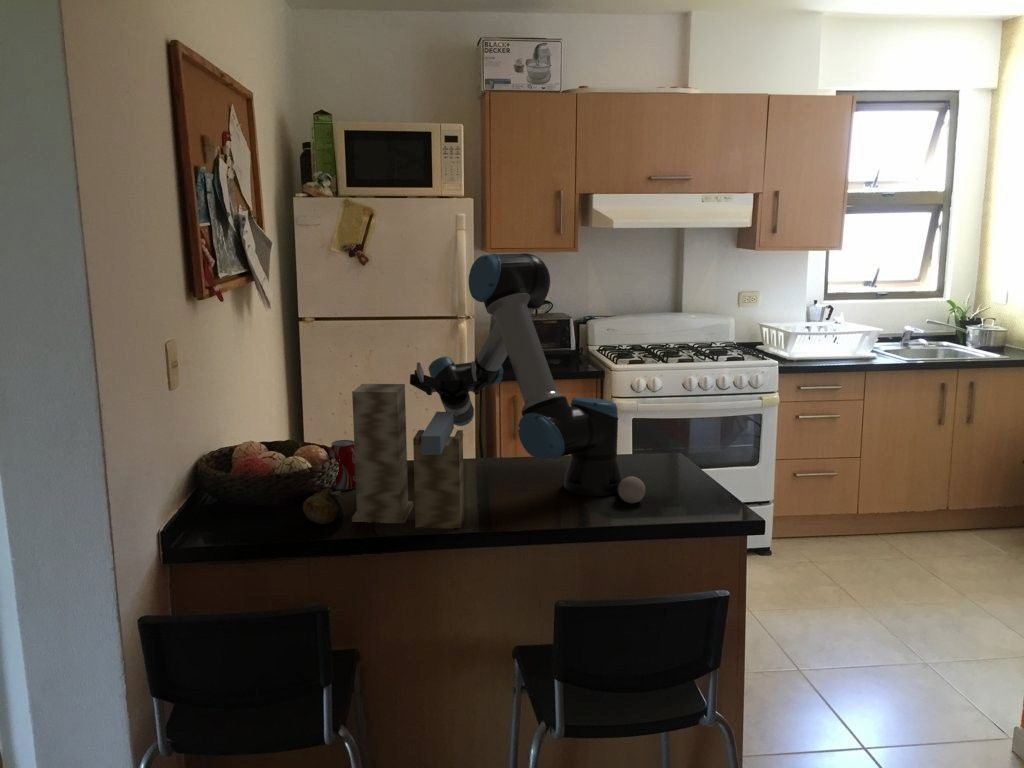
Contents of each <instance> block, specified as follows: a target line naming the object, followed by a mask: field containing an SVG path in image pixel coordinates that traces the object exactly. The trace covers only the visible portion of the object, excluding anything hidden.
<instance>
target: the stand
mask: <svg viewBox="0 0 1024 768" xmlns="http://www.w3.org/2000/svg"><path fill="white" fill-rule="evenodd" d="M351 394H352V421H353V441H354V449H355V474H356V487H355V494H356V495H355V497H356V511H355V513H354V514H353V515H352V517H351V523H352V522H366V523H365V524H370V523H371V524H405V523H406V521H407V519H408V517H409V515H410V513H411V512H412V509H413V507H414V501H413V500H412V501H411V500H410V501H409V487H408V486H409V485H408V482H409V481H408V456H407V455H408V450H407V444H408V443H407V414H406V384H405V383H361V384H360V385H359V386H357V387H356V388H355V389H354V390H352V392H351ZM367 522H368V523H367ZM372 522H374V523H372ZM375 522H376V523H375ZM378 522H379V523H378Z"/></svg>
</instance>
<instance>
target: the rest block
mask: <svg viewBox="0 0 1024 768" xmlns="http://www.w3.org/2000/svg"><path fill="white" fill-rule="evenodd" d="M424 431H425V430H424V429H418V431H417V432H416V434H414V437H413V439H412V441H413V442H412V443H413V446H412V447H413V474H414V475H413V477H414V478H413V479H414V480H413V482H414V485H413V486H414V487H413V488H414V510H415V511H414V519H415V523H414V524H415V528H416V527H444V528H443V529H454V528H460V527H462V525H463V522H462V521H464V518H465V496H464V495H465V494H464V493H465V489H464V488H465V487H464V486H465V485H464V482H465V481H464V430H463V429H457V431H456V432H455V434H454V435H453V436H450V437H449V439H448V441H447V443H446V445H445V447H444V449H443V451H442V453H441V455H422V447H421V436H422V434H423V433H424ZM461 524H462V525H461ZM446 527H448V528H446ZM460 529H461V528H460Z"/></svg>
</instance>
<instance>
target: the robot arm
mask: <svg viewBox="0 0 1024 768" xmlns="http://www.w3.org/2000/svg"><path fill="white" fill-rule="evenodd" d="M475 259H476V260H474V262H473V263H472V265H471V267H470V270H469V275H468V290H469V293H470V296H471V297H472V299H474V300H475V301H476V302H478V303H483V305H484V308H485V310H486V313H487V314H489V315H491V316H493V317H495V321H496V322H495V323H494V325H493V327H492V329H491V330H490V332H489V334H488V335H487V338H486V340H485V341H484V343H483V345H482V347H481V349H480V350H479V352H478V354H477V356H476V358H475V359H474V361H471V362H463V363H456V364H455V362H454V361H453V359H452V358H451V357H449V356H442V357H439V358H435V360H433V361H432V362H431V363H430V364H429V366H428V372H429V375H426V374H425V373H424V369H423V367H422V364H421V363H420V362H416V369H415V370H414V373H412V374H409V385H411V386H413V387H414V388H417V389H418V390H421V391H422V392H424V393H425V394H426V395H427V396H432V395H433V393H437V394H438V395H439V398H440V401H441V403H442V406H443V408H444V410H445V411H444V412H454V426H457V427H464V426H467V425H468V424H470V423H471V421H473V418H474V416H475V409H474V406H473V404H472V400H471V395H470V393H471V392H472V393H473V394H474V395H479V394H480V391H481V390H483V389H484V388H485V387H491V386H495V385H498V384H499V383H501V381H503V374H504V368H503V364H504V362H505V360H506V359H507V357H508V358H509V362H510V365H511V367H512V370H513V373H514V375H515V379H516V382H517V385H518V387H519V391H520V394H521V397H522V400H523V402H524V404H523V407H522V409H521V416H522V417H521V418H520V420H519V422H518V428H519V429H517V430H518V431H517V432H518V437H519V441H520V443H521V446H522V447H523V449H524V451H525V452H526V453H528V454H529V455H530V456H531V457H532V458H533V457H534V458H535V459H537V460H541V461H542V460H543V461H544V460H545V461H546V460H557V459H558V458H560V457H565V456H569V455H570V461H569V463H568V467H567V468H566V469H567V470H566V472H565V475H564V478H563V479H564V480H563V483H564V484H563V487H564V488H563V489H564V490H566V491H567V492H570V493H572V494H575V495H580V496H584V497H585V496H589V497H603V496H605V497H606V496H612V495H614V494H615V495H617V494H619V493H618V492H617V487H618V486H619V484H620V482H621V481H622V480H623V479H624V477H623V475H622V471H621V467H620V465H619V462H618V431H619V429H618V427H619V425H618V423H619V416H618V407H617V404H616V403H615V402H613V401H611V400H607V399H602V398H596V397H595V398H594V397H584V396H583V397H582V396H581V397H573V398H572V399H571V402H570V405H569V402H568V400H567V397H566V396H565V395H564V394H562V393H560V392H558V389H557V386H556V384H555V381H554V378H553V375H552V372H551V370H550V367H549V364H548V361H547V358H546V356H545V353H544V349H543V346H542V344H541V340H540V338H539V336H538V333H537V330H536V327H535V324H534V321H533V319H532V315H533V313H534V311H535V310H538V309H540V308H541V307H542V305H544V302H545V301H546V299H547V297H548V294H549V291H550V286H551V276H550V272H549V269H548V266H547V265H546V264H545V262H544V261H543V260H542V259H541V258H539V257H538V256H536V255H535V254H532V253H527V252H526V253H509V254H508V253H499V254H498V253H491V254H484V255H481V256H479V257H478V258H475ZM469 392H470V393H469Z"/></svg>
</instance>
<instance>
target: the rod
mask: <svg viewBox="0 0 1024 768" xmlns="http://www.w3.org/2000/svg"><path fill="white" fill-rule="evenodd" d="M454 426H455V425H454V412H446V411H435V413H434V415H433V417H432V418H431V420H430V421H429V423H428V424H427V426H426V428H425V430H424V433H423V434H422V436H421V447H422V455H441V453H442V451H443V449H444V447H445V445H446V443H447V441H448V439H449V437H451V434H452V433H453V431H454V429H455V427H454Z"/></svg>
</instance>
